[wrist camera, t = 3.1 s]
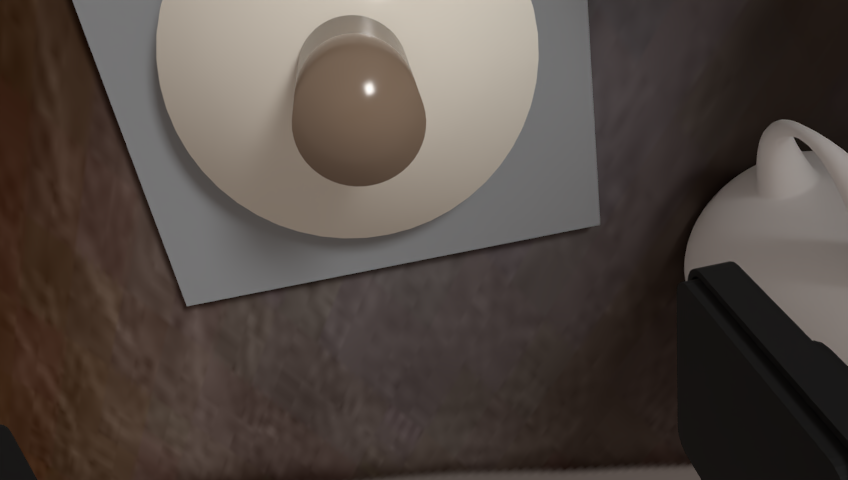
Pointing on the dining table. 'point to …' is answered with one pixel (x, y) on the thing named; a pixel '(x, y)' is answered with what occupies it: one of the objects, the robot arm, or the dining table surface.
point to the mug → (786, 230)
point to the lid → (348, 103)
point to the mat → (331, 257)
